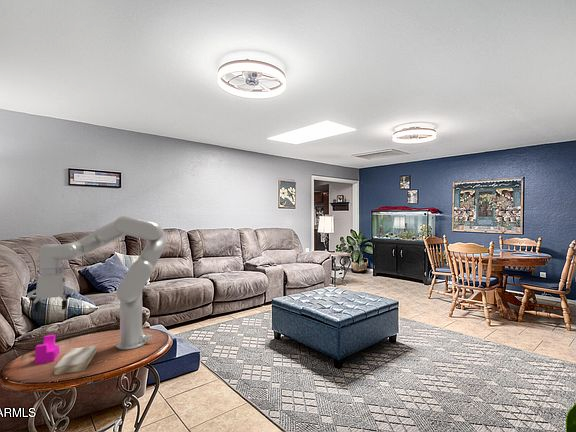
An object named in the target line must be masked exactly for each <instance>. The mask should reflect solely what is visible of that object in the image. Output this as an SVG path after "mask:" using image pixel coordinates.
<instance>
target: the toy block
mask: <svg viewBox="0 0 576 432" xmlns="http://www.w3.org/2000/svg"><path fill="white" fill-rule="evenodd" d="M34 347H35V348H34V350H35V351H34V353H35V354H34V355H35V356H34V362H35V364H37V365H41V364H42V365H43V364H48V363H53V362H54V361H55V360H56V359H57V357H58V355H59V354H60V345H56V334H48V335H45V336H43V342H42V344H41V343H40V344H36V346H34Z"/></svg>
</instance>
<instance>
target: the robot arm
mask: <svg viewBox="0 0 576 432" xmlns="http://www.w3.org/2000/svg"><path fill="white" fill-rule="evenodd" d="M125 236H126V237H127V236H129V237H133V238H138V239H142V240H145V241H146V244H145V246H144V248H143V249H142V251H141V252H140V254H139V257H138V258H137V260H135V261H134V262H133V263H132V264H131V266H130V267H129V268H128V270H127V272H126V274H125V276H124V277H123V278H122V280H121V282H120V283H119V285H118V287H117V289H116V297H117V299H118V300H119V301H120V302H119V342H117V343H116V349H117V350H123V351H125V350H132V349H134V350H135V349H136V348H140V347H143V346H144V345H145V344H146V343H147V340H153V334H150V333H147V334H144V333H145V332H144V331H143V289H144V287H145V286H146V284H147V282H148V281H149V279H150V277H151V275H152V274H153V272H154V268H155V266H156V265H157V263H158V262H159V259H160V258H161V256H162V254H163V252H164V249H165V247H166V243H167V237H166V233H165V230H164V229H163V228H162V227H161V225H160V224H158V223H157V222H155V221H154V222H153V221H148V220H144V219H138V218H135V217H133V216H130V215H121V216H119V217H117V218H116V219H115V220H114V221H111V222H108V223H107V224H104V225H102V226H100V227H98V228H96V229H95V230H94V231H93V232H91V234H89V235H87V236H85V237H82V238H80V239H78V240H76V241H73V242H68V243H63V244H62V243H61V244H59V243H51V244H48V243H47V244H42V245H41V246H40V252H39V259H40V260H39V261H40V262H39V263H40V266H39V267H40V269H39V271H40V272H39V275H38V278H37V280H36V281H37V282H36V289H33V290H32V291H29V292H28V293H27V294H26V296H27V297H28V298H29V301H31V302H32V303H33V304H34V311H35V313H39V312H40V311H41V308H42V307H41V306H42V305H41V300H42V299H49V298H50V299H52V298H60V299H61V310H62V311H64V310H65V309H67V307H68V299H69V298H71V296H72V295H73V294H74V292H75V289H74V288H71V287H68V286H67V285H66V284H67V283H66V278H65V274H64V273H63V272H65V271H66V268H62V267H63V266H62V261H73V260H75V259H78V258H80V257H83V256H84V255H85V256H86V254H89V253H91V252H93V251H95V250H98V249H99V248H101V247H104V246H107V245H109V244H111V243H113V242H115V241H117V240H120V239H121V238H123V237H125ZM67 292H68V294H67V295H66V293H67ZM34 294H35V296H34Z"/></svg>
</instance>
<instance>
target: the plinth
mask: <svg viewBox="0 0 576 432" xmlns="http://www.w3.org/2000/svg"><path fill="white" fill-rule="evenodd" d="M96 353H97V345H90V346H85V347H76V348H69V350H68V351H67V352H66V353H65V354H64V355H63V356H62V358H61V359H60V360H59V361H58V362H57V363H56V365H54V368H53V375H54V376H57V375H63V374H70V373H76V372H77V373H78V372H82V371H85V370H86V368H87V367H88V366H89V364H90V363H91V361H92V360H93V358H94V357H95V355H96Z"/></svg>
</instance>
